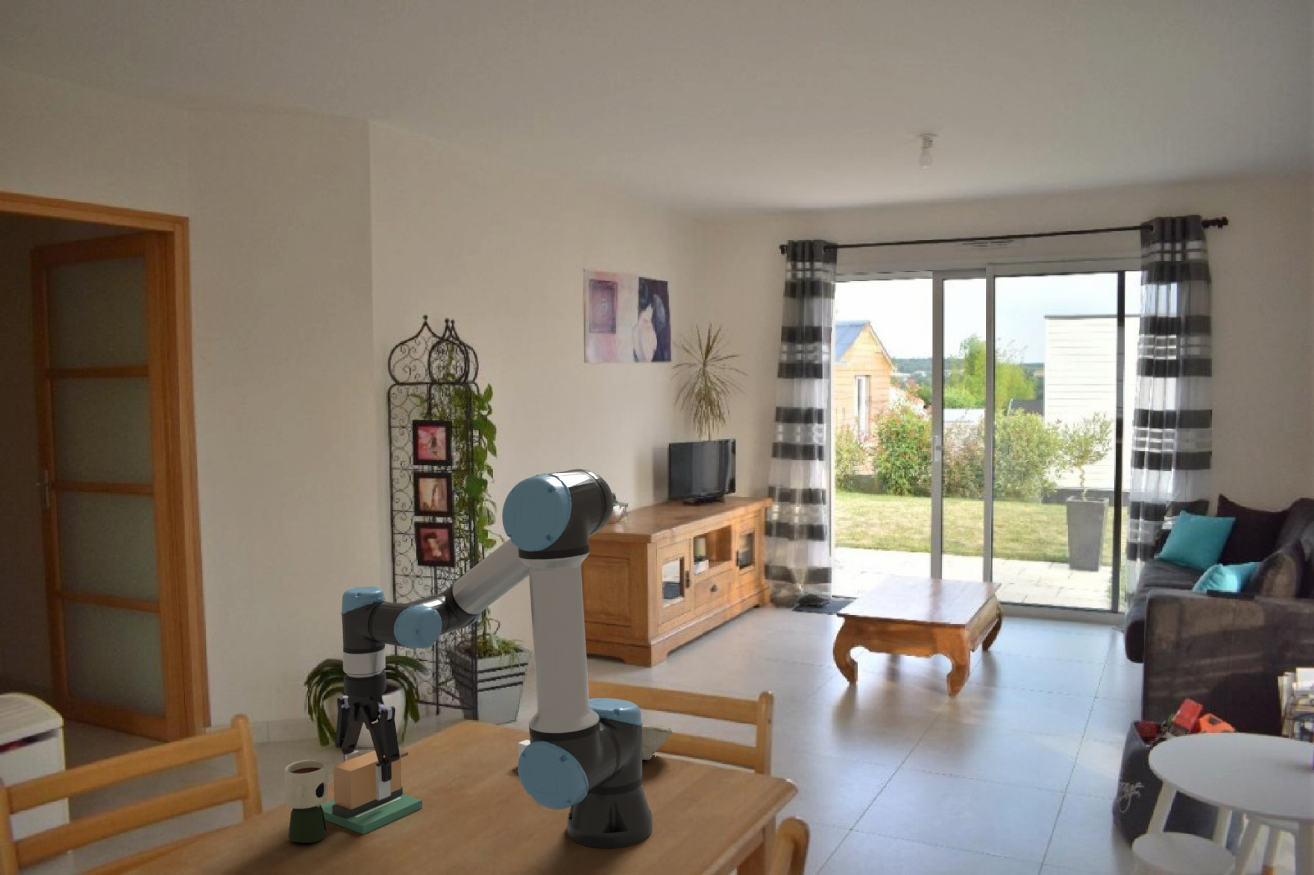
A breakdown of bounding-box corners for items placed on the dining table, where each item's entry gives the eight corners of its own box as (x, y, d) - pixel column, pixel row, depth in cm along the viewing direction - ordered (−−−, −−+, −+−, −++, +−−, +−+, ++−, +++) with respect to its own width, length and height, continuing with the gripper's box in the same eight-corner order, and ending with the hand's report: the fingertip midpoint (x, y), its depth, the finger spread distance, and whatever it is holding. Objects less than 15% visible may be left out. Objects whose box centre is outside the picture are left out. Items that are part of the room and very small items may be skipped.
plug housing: (413, 783, 198) (412, 747, 198) (351, 809, 186) (350, 771, 186) (396, 777, 201) (395, 742, 201) (334, 803, 189) (333, 766, 189)
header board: (422, 808, 194) (421, 771, 194) (363, 834, 183) (362, 795, 183) (373, 791, 202) (372, 756, 202) (314, 815, 191) (313, 778, 191)
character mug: (321, 852, 176) (319, 777, 176) (278, 854, 176) (276, 779, 175) (335, 825, 187) (333, 754, 186) (295, 827, 186) (292, 756, 186)
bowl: (680, 751, 222) (680, 705, 222) (663, 775, 209) (662, 726, 208) (614, 745, 226) (613, 700, 226) (593, 768, 213) (592, 720, 212)
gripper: (419, 675, 188) (421, 798, 189) (345, 658, 200) (348, 773, 202) (386, 686, 182) (389, 812, 183) (312, 667, 194) (315, 786, 195)
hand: (368, 792), depth 192 cm, fingers open, 8 cm apart
